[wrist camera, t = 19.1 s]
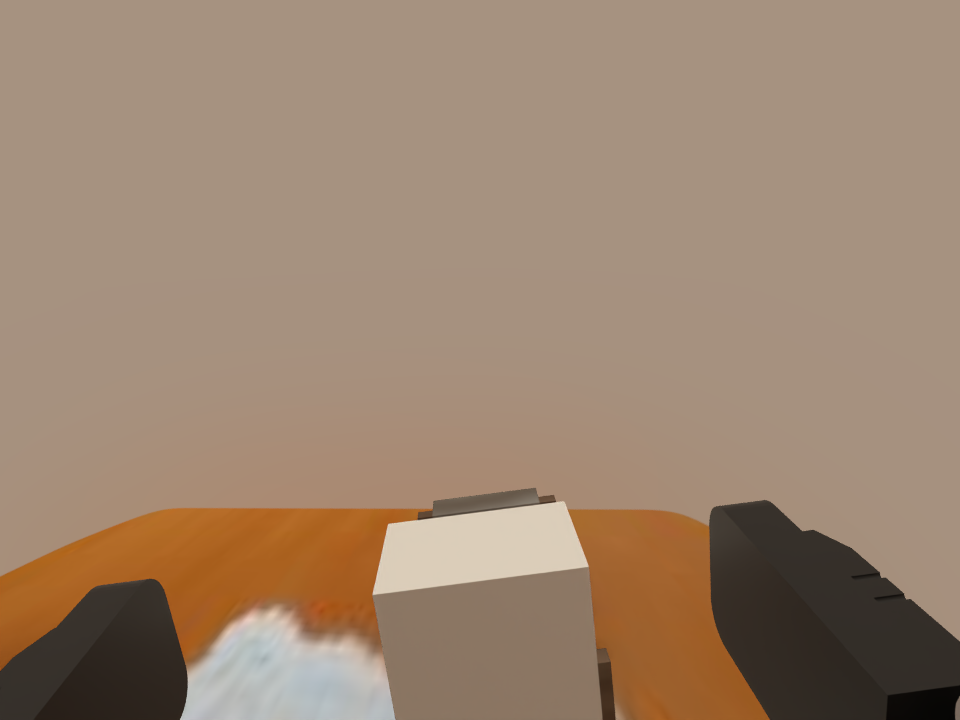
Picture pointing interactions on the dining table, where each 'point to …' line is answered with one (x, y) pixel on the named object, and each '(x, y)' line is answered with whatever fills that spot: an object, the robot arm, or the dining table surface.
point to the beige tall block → (488, 617)
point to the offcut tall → (485, 503)
